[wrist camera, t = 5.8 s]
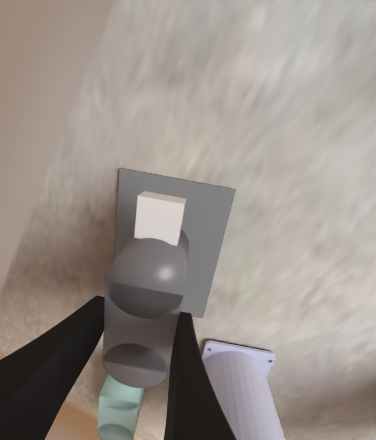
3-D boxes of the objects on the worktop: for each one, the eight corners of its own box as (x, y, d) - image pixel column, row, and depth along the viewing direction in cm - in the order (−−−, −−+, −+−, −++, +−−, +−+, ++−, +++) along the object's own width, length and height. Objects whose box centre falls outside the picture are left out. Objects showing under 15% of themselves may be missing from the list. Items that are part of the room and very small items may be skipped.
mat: (202, 315, 21) (202, 318, 20) (112, 298, 21) (111, 301, 20) (234, 189, 16) (235, 189, 16) (121, 167, 16) (119, 168, 16)
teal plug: (118, 340, 23) (99, 382, 18) (151, 346, 23) (140, 390, 18) (113, 405, 26) (96, 452, 22) (141, 410, 26) (130, 459, 22)
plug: (173, 330, 16) (163, 392, 12) (127, 322, 16) (102, 381, 12) (200, 195, 12) (199, 217, 8) (139, 183, 12) (106, 200, 8)
